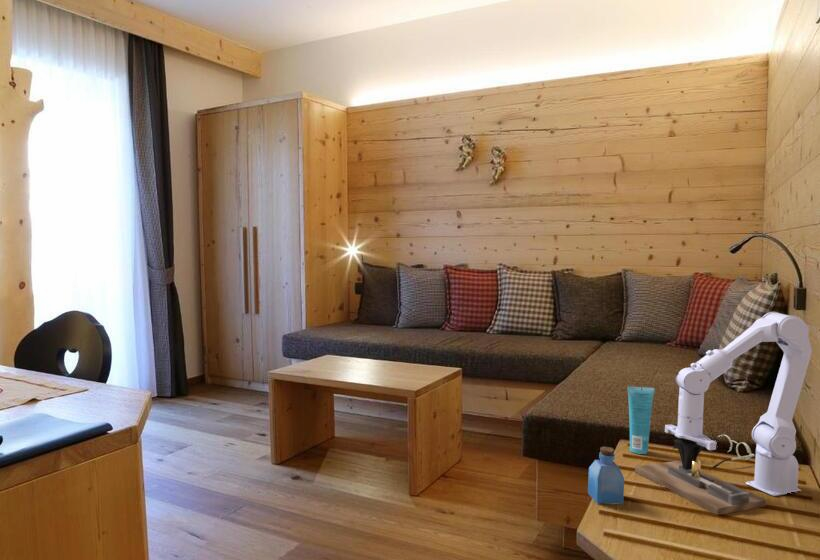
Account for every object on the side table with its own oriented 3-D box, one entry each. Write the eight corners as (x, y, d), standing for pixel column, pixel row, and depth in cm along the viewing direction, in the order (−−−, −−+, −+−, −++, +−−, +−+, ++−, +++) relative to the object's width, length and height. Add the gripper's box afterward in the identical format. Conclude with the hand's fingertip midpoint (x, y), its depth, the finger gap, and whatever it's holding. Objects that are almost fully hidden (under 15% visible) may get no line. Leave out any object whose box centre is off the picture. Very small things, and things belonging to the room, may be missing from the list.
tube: (648, 449, 172) (651, 385, 171) (654, 455, 167) (657, 389, 166) (623, 448, 173) (625, 384, 172) (627, 454, 168) (630, 388, 167)
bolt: (692, 477, 147) (692, 457, 147) (732, 497, 136) (733, 475, 136) (685, 478, 146) (686, 458, 146) (726, 498, 135) (727, 476, 135)
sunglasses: (758, 466, 161) (759, 448, 161) (712, 470, 158) (713, 452, 157) (713, 445, 178) (714, 429, 178) (670, 448, 174) (671, 432, 174)
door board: (679, 465, 159) (679, 453, 159) (765, 506, 135) (766, 491, 135) (635, 472, 154) (635, 459, 154) (716, 515, 130) (717, 499, 130)
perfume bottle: (613, 492, 141) (615, 444, 140) (623, 504, 135) (625, 453, 134) (587, 492, 141) (589, 444, 140) (596, 504, 134) (598, 453, 134)
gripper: (656, 409, 152) (654, 460, 153) (701, 425, 138) (698, 481, 139) (677, 407, 154) (675, 457, 155) (723, 423, 141) (721, 478, 141)
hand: (687, 468), depth 147 cm, fingers closed
